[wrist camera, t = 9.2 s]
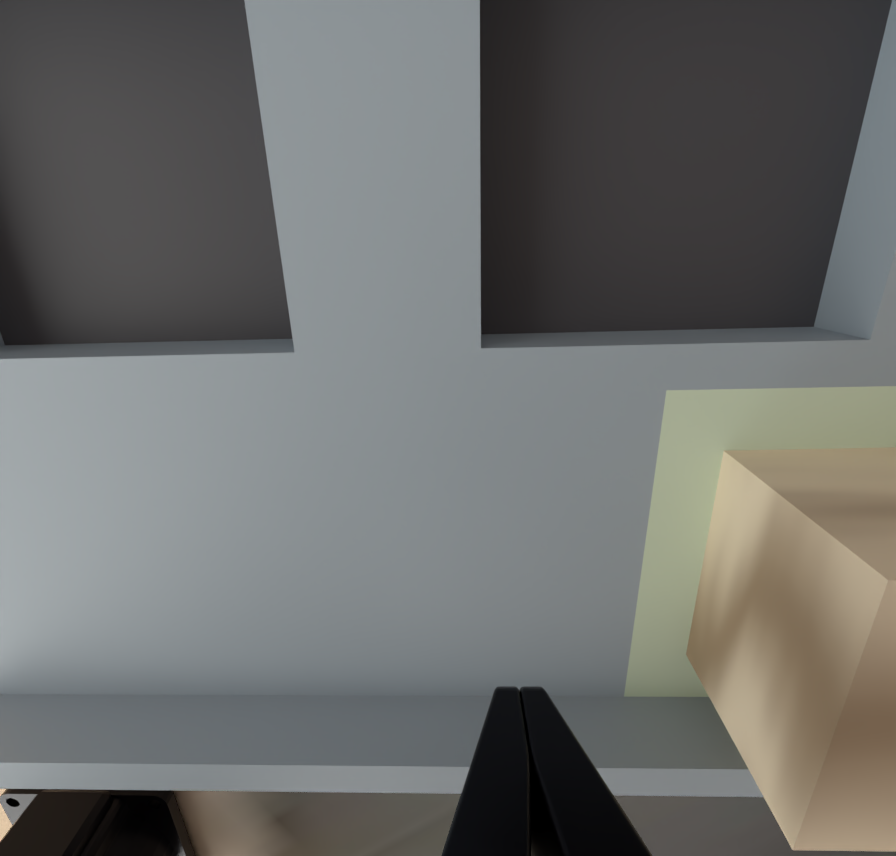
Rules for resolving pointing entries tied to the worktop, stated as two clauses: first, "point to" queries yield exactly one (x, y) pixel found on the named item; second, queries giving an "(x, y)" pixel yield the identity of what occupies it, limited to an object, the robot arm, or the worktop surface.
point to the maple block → (806, 636)
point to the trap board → (412, 368)
